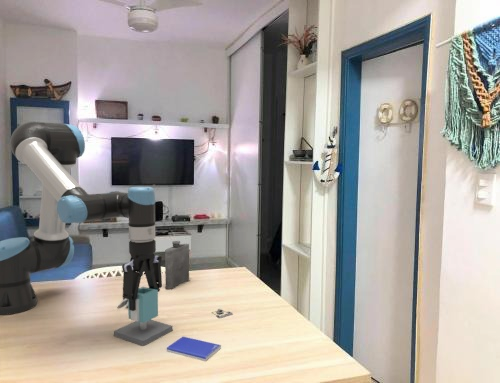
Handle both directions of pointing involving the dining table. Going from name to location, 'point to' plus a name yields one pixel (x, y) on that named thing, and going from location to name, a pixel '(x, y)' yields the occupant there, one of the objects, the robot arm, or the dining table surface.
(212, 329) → the dining table surface
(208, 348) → the hard drive
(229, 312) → the grey rectangular frame
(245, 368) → the dining table surface
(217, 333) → the dining table surface
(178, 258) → the flask
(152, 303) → the block with square hole
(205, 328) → the dining table surface
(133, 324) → the pin base
